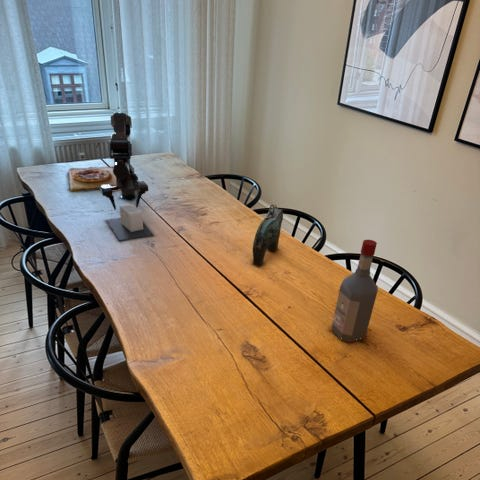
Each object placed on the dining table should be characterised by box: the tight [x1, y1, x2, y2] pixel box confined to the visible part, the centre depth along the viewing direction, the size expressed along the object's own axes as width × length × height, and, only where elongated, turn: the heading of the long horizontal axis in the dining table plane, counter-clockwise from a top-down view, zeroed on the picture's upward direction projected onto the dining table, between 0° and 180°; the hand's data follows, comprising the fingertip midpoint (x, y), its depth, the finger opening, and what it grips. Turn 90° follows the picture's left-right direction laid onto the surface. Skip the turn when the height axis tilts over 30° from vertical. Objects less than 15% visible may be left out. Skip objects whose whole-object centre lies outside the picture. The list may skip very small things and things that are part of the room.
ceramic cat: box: [252, 204, 284, 267], centre depth 170 cm, size 20×6×20 cm, turn 154°
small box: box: [119, 203, 144, 232], centre depth 189 cm, size 8×6×10 cm
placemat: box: [106, 217, 154, 242], centre depth 190 cm, size 22×14×1 cm, turn 27°
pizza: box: [67, 165, 117, 193], centre depth 237 cm, size 35×28×4 cm
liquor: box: [330, 239, 379, 344], centre depth 128 cm, size 9×9×30 cm
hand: (126, 208), depth 188 cm, fingers open, 9 cm apart
